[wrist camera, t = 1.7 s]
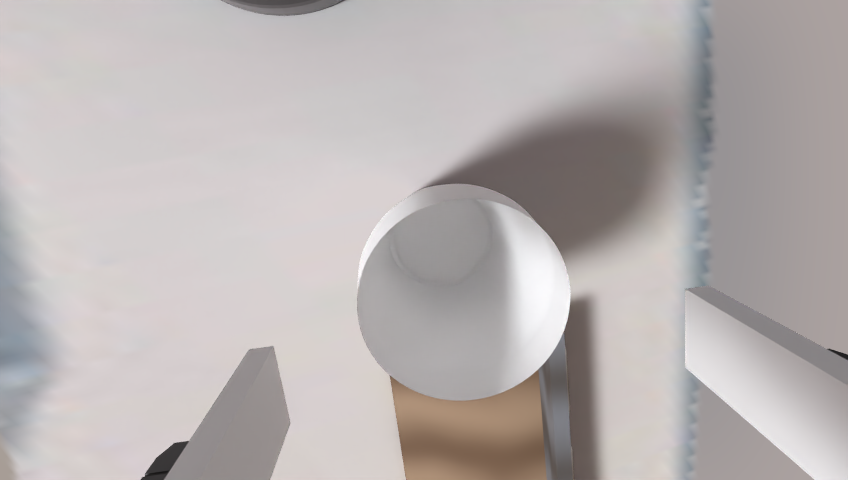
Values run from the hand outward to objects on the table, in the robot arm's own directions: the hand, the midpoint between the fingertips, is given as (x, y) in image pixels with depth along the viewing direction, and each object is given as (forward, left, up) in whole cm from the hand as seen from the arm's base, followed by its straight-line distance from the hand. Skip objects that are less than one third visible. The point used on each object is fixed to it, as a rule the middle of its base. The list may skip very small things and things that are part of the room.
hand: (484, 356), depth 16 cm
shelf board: (+16, +1, -16) cm, 23 cm away
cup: (0, 0, -17) cm, 17 cm away
